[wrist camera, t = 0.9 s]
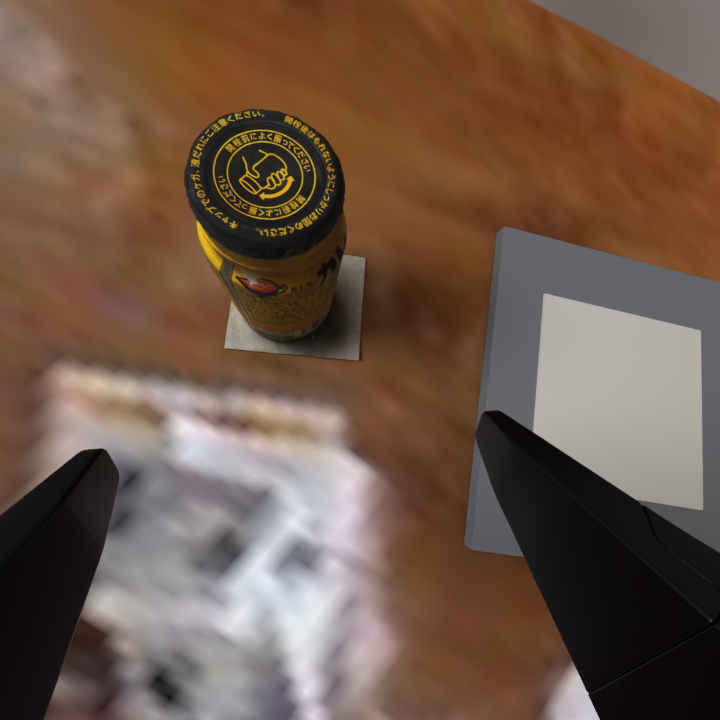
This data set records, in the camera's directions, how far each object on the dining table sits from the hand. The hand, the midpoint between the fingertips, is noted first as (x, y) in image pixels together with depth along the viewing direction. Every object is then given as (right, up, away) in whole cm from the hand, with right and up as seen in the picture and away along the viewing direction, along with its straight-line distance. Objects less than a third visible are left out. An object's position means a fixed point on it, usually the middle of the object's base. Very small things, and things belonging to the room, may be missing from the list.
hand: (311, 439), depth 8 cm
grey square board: (+19, -1, +17) cm, 26 cm away
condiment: (-3, +6, +15) cm, 16 cm away
